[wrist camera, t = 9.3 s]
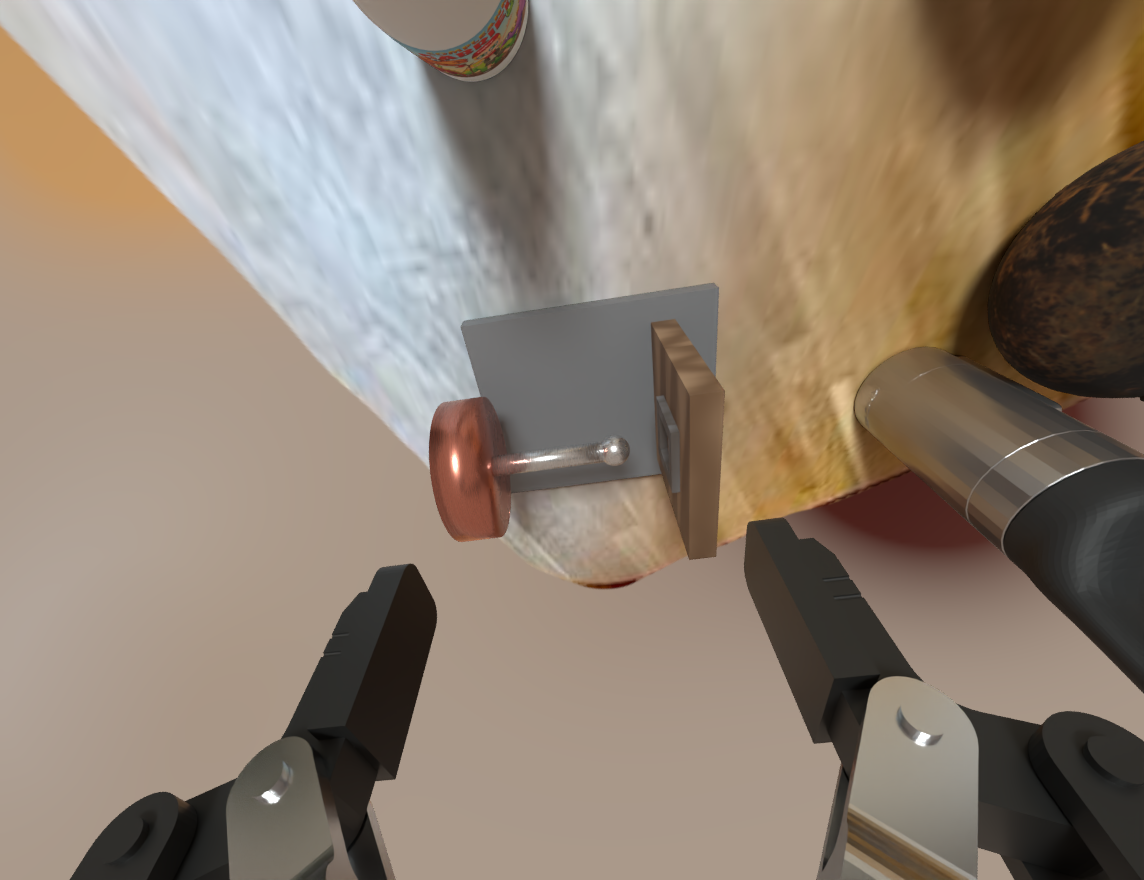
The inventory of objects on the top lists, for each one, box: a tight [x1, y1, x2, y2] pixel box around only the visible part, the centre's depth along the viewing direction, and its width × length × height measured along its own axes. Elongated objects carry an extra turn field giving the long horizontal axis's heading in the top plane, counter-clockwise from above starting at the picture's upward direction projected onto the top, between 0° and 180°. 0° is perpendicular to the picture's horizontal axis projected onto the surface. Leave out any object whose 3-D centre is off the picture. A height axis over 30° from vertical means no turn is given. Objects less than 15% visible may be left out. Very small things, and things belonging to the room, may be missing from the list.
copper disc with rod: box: [429, 397, 630, 542], centre depth 34 cm, size 14×11×11 cm
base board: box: [461, 283, 719, 493], centre depth 41 cm, size 21×18×2 cm
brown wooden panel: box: [651, 319, 725, 560], centre depth 35 cm, size 3×14×13 cm, turn 8°
